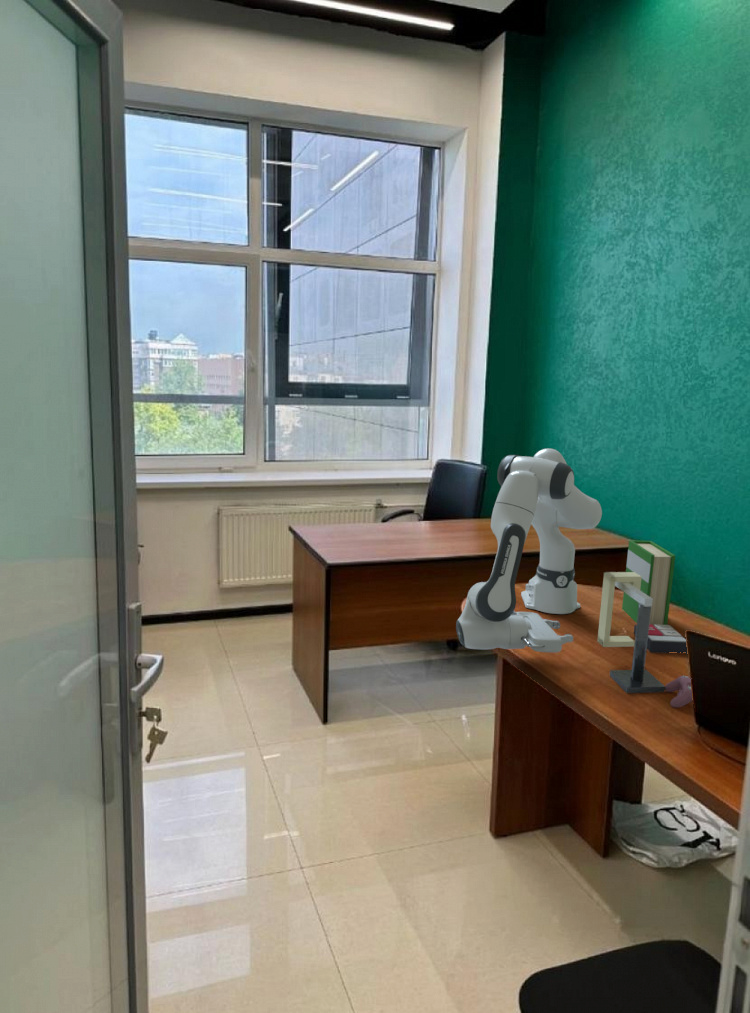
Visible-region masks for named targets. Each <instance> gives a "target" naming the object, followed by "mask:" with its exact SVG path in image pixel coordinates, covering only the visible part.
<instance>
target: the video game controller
mask: <svg viewBox="0 0 750 1013" xmlns="http://www.w3.org/2000/svg"><path fill="white" fill-rule="evenodd" d="M690 678H691V677H689V676H687V675H684V674H683V675H680V676H678V677H677V678H675V679H674V680H672V681H669V682H667V683H666V684H665V685H664V686H665V692H666V693H673V692H674V693H675V692H677V694H676V696H675V697H673V698H672V699H671V700H670V706H671V707H672V708H681V707H684V706H687V705H688V704H689V703H691V702H693V701H692V690H691V679H692V678H691V679H690Z"/></svg>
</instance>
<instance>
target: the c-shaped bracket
mask: <svg viewBox="0 0 750 1013" xmlns="http://www.w3.org/2000/svg"><path fill="white" fill-rule="evenodd" d="M641 578H642V576H640V575H638V574H637V573H635V572H626V571H617V572H616V571H605V572H603V580H602V590H601V591H602V592H601V598H600V599H601V600H600V602H601V603H600V609H599V622H598V631H597V643H599V644H600V646H602V647H603V648H619V647H620V648H625V647H626V648H628V647H633V648H634V643H635V639H633V638H631V637H630V636H629V635H611V629H612V617H613V609H614V599H615V588H616V586H615V582H628V583H630V584H631V585H633V586H634V587H636V588H637V589H639V590H640V587H641Z"/></svg>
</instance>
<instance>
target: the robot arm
mask: <svg viewBox="0 0 750 1013" xmlns="http://www.w3.org/2000/svg"><path fill="white" fill-rule="evenodd" d="M496 475H497V476H496V477H497V478H496V479H497V481H498V484H499V485H500V489H499V492H498V493H497V495H496V496H497V497H496V500H495V502H494V506H493V508H492V513H491V519H490V520H491V521H490V529H491V531H492V533H493V535H494V537H495V538H496V540H497V551H496V555H495V559H494V563H493V567H492V571H491V574H490V577H489V579H488V580H487V581H481V582H477V583H475V584H473V585H472V586H471V587H470V589H468V592H467V596H466V601H465V605H464V608H463V610H462V612H461V614H460V616H459V618H458V619H457V620H456V621H455V623H456V624H455V625H456V626H455V630H456V635H457V638H458V640H459V642H460V644H461V645H462V646H463V647H465V648H466V649H469V650H470V649H471V650H494V649H496V648H497V649H498V648H500V649H504V650H516V649H517V650H519V649H526V647H527V648H530V649H531V650H532V651H534V652H539V653H559V652H561V651H562V646H563V645H565V644H567V643H573V642H574V636H573V634H571V633H565V634H564V635H561V634H560V635H559V634H557V633H556V632H555V631H554V629H555V630H559V629H560V628H561V623H560V622H559V620H550V619H548V618H547V619H546V618H543V617H541V615H540V614H539V613H536V612H533V611H532V612H531V611H516V606H517V596H516V594H517V593H516V579H517V576H518V571H519V569H520V564H521V559H522V555H523V552H524V546H525V543H526V540H527V537H528V533H529V531H530V528H531V526H532V527H533V529H534V530H535V532H536V534H537V537H538V541H539V563H538V565H537V567H536V572H535V575H534V576H533V577H532V578H530V579H529V581H528V583H526V584H525V590H523V591H521V592H520V593H521V594H520V596H521V598H522V601H523V604H524V606H525V608H527V609H530V610H536V611H540V612H542V613H545V614H546V613H547V614H554V615H555V614H556V615H566V614H567V615H568V614H572V613H573V612H575V611H576V610H577V609H579V608H581V603H579V602H578V584H577V582H576V581H575V580H574V579H575V576H576V575H575V574H576V572H575V570H576V569H575V567H574V564H575V554H576V546H575V544H574V543H573V542H572V540H571V539H570V538H569V537H566V536H565V535H564V534H563V533H562V532H561V531H560V528H566V529H572V530H574V529H575V530H591V529H593V530H594V528H596V527H597V526H598V525H599V524H600V521H601V519H602V515H603V510H602V507H601V504H600V502H599V501H598V500H597V499H595V498H593V497H591V496H589V495H587V494H585V493H584V492H582V491H581V490H580V489H579V488H578V487H577V486H576V485H575V473H574V470H573V468H572V467H571V466H570V465H568V464H567V461H566V460H565V458H564V456H563V455H562V453H561V452H559V451H558V450H557V449H554V448H548V447H547V448H542V449H541V450H538V451H537V452H536V453H535V454H534V455H533V456H526V455H525V456H522V455H519V454H509V455H506V456H504V457H503V458H502V459H501V461H500V463H499V465H498V468H497V474H496Z"/></svg>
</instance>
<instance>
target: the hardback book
mask: <svg viewBox="0 0 750 1013" xmlns="http://www.w3.org/2000/svg"><path fill="white" fill-rule="evenodd" d="M675 561H676V555H675V554H673V553H672V552H671V551H669V550H667V549H665V548H663V547H662V546H660V545H659V544H657V543H656V542H654V541H652V540H628V548H627V558H626V565H625V566H626V567H625V568H626V569H625V572H635V573H637V574H638V575H640V576H642V578H641V587H640V591H642V592H643V593H645V594H646V595H648V596H649V597H651V598H652V599H653V601H652V606H651V614H650V623H649V624H652V625H653V626H654V624H657V625H668V621H669V612H670V606H671V605H670V604H671V596H672V587H673V579H674V572H675V563H676V562H675ZM638 606H639V602H637V601H636V600H634V599H633V598H632V597H630V596H629V595H627V594H626V593H625V592H623V596H622V605H621V610H622V609H623V610H624V611H625V612H626V613H627V614H628V615H629V616H630V617H631V618H630V617H629V618H630V619H632V620H633V621H634V622H635V623H636V624H637V616H638ZM623 610H622V611H623ZM624 611H623V612H624ZM625 612H624V613H625ZM626 613H625V614H626ZM627 614H626V615H627ZM628 615H627V616H628Z"/></svg>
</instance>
